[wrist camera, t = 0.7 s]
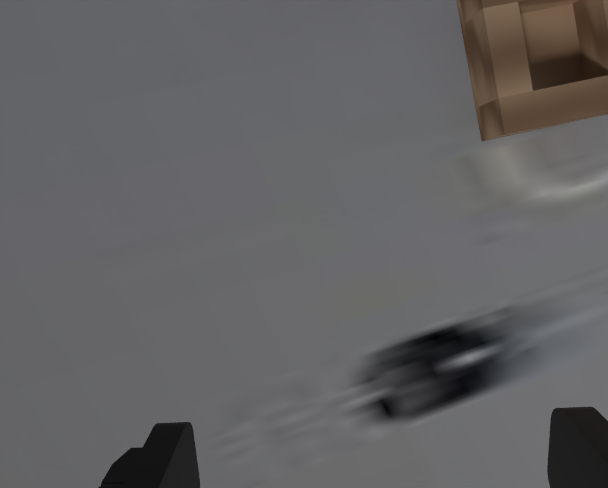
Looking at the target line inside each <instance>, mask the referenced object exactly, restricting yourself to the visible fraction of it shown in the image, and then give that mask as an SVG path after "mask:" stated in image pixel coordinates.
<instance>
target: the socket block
mask: <svg viewBox="0 0 608 488" xmlns="http://www.w3.org/2000/svg"><path fill="white" fill-rule="evenodd" d="M457 5H458V10H459V16H460V22H461V27H462V33H463V38H464V44H465V50H466V55H467V61H468V67H469V72H470V78H471V83H472V89H473V95H474V100H475V106H476V111H477V117H478V123H479V128H480V134H481V139H482V141H485V140H489V139H494V138H499V137H503V136H508V135H513V134H517V133H522V132H527V131H531V130H536V129H541V128H545V127H550V126H555V125H559V124H564V123H569V122H573V121H578V120H583V119H587V118H592V117H597V116H601V115H606V114H608V0H457Z"/></svg>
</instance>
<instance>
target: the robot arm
mask: <svg viewBox="0 0 608 488" xmlns="http://www.w3.org/2000/svg"><path fill="white" fill-rule="evenodd" d="M548 480H549V484H550V488H608V421H607V420H606V419H605V418H604V417H603V416H602V415H601V414H600V413H599V412H598V411H597V410H596V409H595V408H593V407H573V408H556V409H554V410H553V412H552V415H551V424H550V439H549V453H548ZM99 488H200V479H199V471H198V463H197V456H196V448H195V441H194V433H193V428H192V425H191V423H190V422H178V423H157V424H156V425H155V426H154V427H153V429H152V431H151V433H150V435H149V437H148V438H147V440H146V442H145V444H144V446H143V448H130V449H129V450H128V451H127V452H126V453H125V454H124V455H122V456H121V457H120V458H119V459H118V460H117V461H116V462H114V463H113V464H112V466H111V467H110V469H109V471H108V472H107V474H106V476H105V478H104V479H103V481H102V483H101V487H99Z"/></svg>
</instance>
